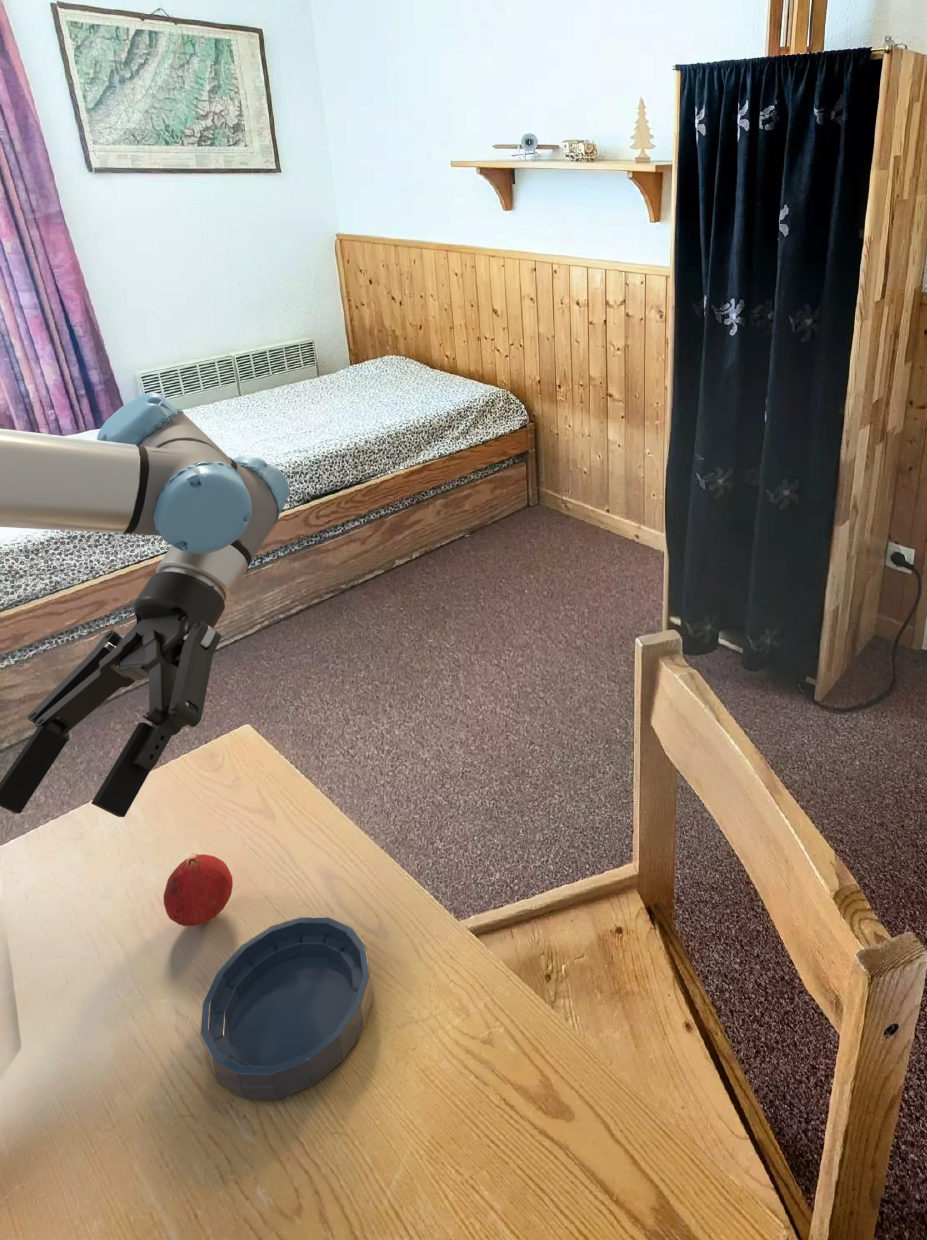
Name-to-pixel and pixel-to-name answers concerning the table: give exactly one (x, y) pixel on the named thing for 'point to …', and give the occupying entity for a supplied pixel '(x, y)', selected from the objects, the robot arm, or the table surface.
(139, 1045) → the table surface
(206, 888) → the red oval fruit
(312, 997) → the bowl
